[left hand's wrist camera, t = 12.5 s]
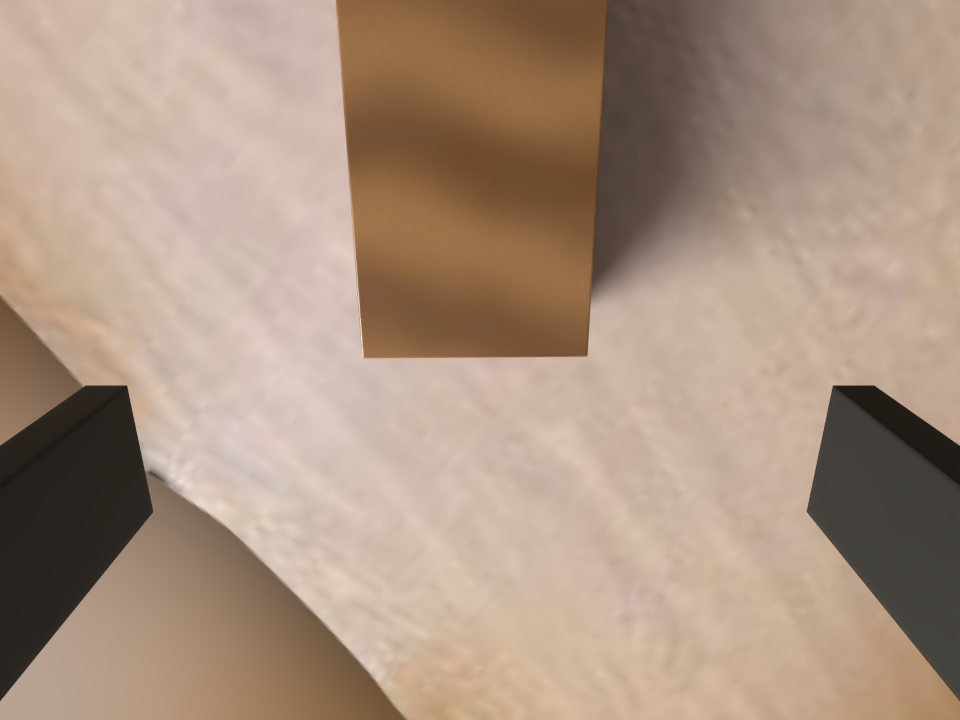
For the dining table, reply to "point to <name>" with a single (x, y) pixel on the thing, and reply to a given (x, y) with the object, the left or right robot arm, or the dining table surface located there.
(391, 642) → the dining table surface
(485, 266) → the long beam
